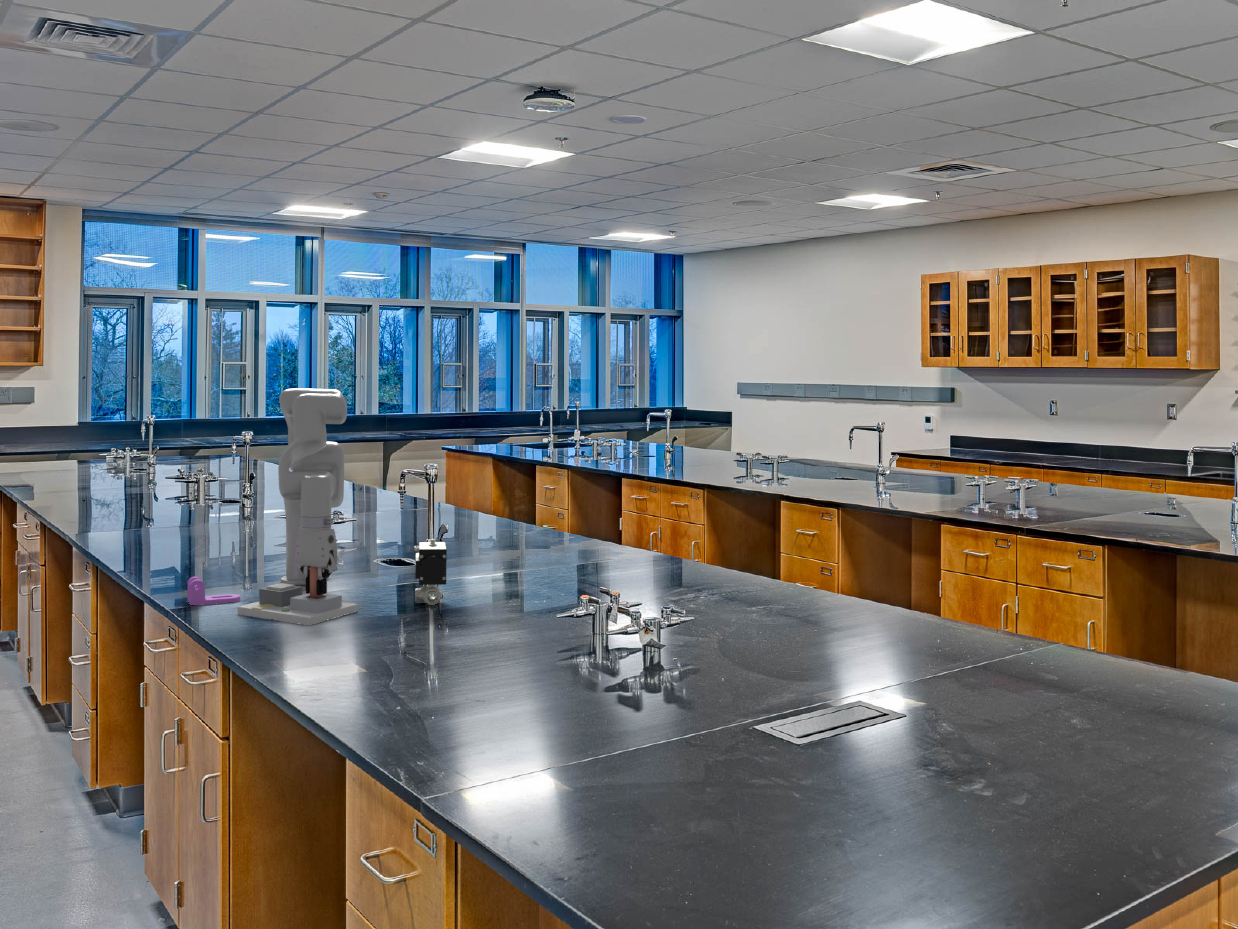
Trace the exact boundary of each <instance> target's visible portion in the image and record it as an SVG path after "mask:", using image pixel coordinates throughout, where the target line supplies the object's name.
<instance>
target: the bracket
mask: <svg viewBox="0 0 1238 929" xmlns="http://www.w3.org/2000/svg"><path fill="white" fill-rule="evenodd" d="M186 584H187V603H188V602H189V603H188V605H189V604H190V605H198V606H201V605H200V604H210V605H217V604H216V603H223V604H228V603H227V602H234V603H238V602H240V601H241V595H240V594H235V593H231V594H230V593H228V594H217V595H214V594H213V595H206V585H205V583H204V581H203V580H202V578H200V577H198V576H191V577H190V578H189V579H188V580H187V583H186ZM190 605H189V606H190Z"/></svg>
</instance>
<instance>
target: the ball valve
mask: <svg viewBox="0 0 1238 929" xmlns="http://www.w3.org/2000/svg"><path fill="white" fill-rule="evenodd" d="M435 540H436V539H434V538H430V541H419V544H418V545H414V546H413V547H414V550H413V551H414V552H415V580H418V585H419V586H420V587H419V588H414V601H415V603H420V602H425V603H428V604H429V605H428V604H427V605H428V606H430V605H434V606H436V605H435V604H437V603H438V604H439V603H440V602H441V600H442V599H441V598H442V596H441V595H442V592H441V588H440V587H439V586H441V585H442V586H443V585H445V586H446V585H447V559H448V558H447V556H448V555H447V544H446V541H435ZM438 604H437V605H438Z"/></svg>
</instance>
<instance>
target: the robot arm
mask: <svg viewBox="0 0 1238 929" xmlns="http://www.w3.org/2000/svg"><path fill="white" fill-rule="evenodd" d="M347 404H348V403H347V401H346V398H345V396H344V395H343V393H342V392H341V391H340V390H339V389H333V388H331V389H330V388H305V387H304V388H302V387H300V388H298V387H297V388H287V389H284V390H283V391H281V393H280V395H279V407H280V409H281V413H282V415H283V417H284V420H285V423H286V426H287V432H288V433H287V435H288V436H287V437H288V438H287V447H286V448H285V450H284V451H283V453H282V454H281V456H280V457H279V462H278V472H277V473H278V474H277V475H278V489H279V493H280V496H281V497H282V498H283V503H284V512H285V547H286V548H285V555H286V557H285V559H286V560H285V563H286V564H285V570H286V573H285V575H284V576H282V577H281V578H280V583H284V584H292V585H295V586H305V594H309V593H310V567H317V568H318V578H319V579H318V580H317V581H316V591H317V595H322V594H326V593H328V579H330V576H331V574H332V573H335V572H336V571H338V569H339V568H338V566H337V564H338V559H339V558H338V545H337V538H336V532H335V528H334V527H332V526H333V525H334V520H333V519H332V509H333V508H338V507H340V506H341V505H342V504H343V501H344V494H345V454H344V449H343V446H342V445H341V444H340V443H338V442H336V441H328V437H327V436H328V435H327V427H326V425H342V424H344V423H345V422H346V420H347V416H348V405H347Z"/></svg>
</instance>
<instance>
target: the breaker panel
mask: <svg viewBox="0 0 1238 929" xmlns="http://www.w3.org/2000/svg"><path fill="white" fill-rule="evenodd" d="M258 599H259V600H258V601H255V602H251V603H248V604H242V605H239V606H237V615H240V616H246V617H251V616H252V617H254V618H258V619H265V620H271V619H274V620H273V621H277V620H279V622H284V623H290V624H296V623H300V624H299V625H302V624H305V625H304V626H309V625H310V626H313V625H312V624H314V625H316V624H315V623H317V624H320V622H321V623H324V622H326V621H325V620H327V619H331V620H333V619H332V618H334V617H337V616H341V615H344V614H347V613H351V614H353V613H352V612H354V611H357V610H358V611H359V609H358V608H359V606H358V605H359V604H358V603H353V602H347V601H346V602H345V601H343V600H342V599H343V595H341V594H334V593H328V592H327V593H326V594H323V597H322V598H319V599H314V598H310V593H309V594H307V593H305V594H303V586H300V585H295V588H291V589H287V590H283V591H279V590H272V589H267V586H266V587H260V588H259V589H258ZM341 617H342V616H341ZM334 619H335V618H334ZM323 621H324V622H323ZM327 621H328V620H327Z"/></svg>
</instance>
